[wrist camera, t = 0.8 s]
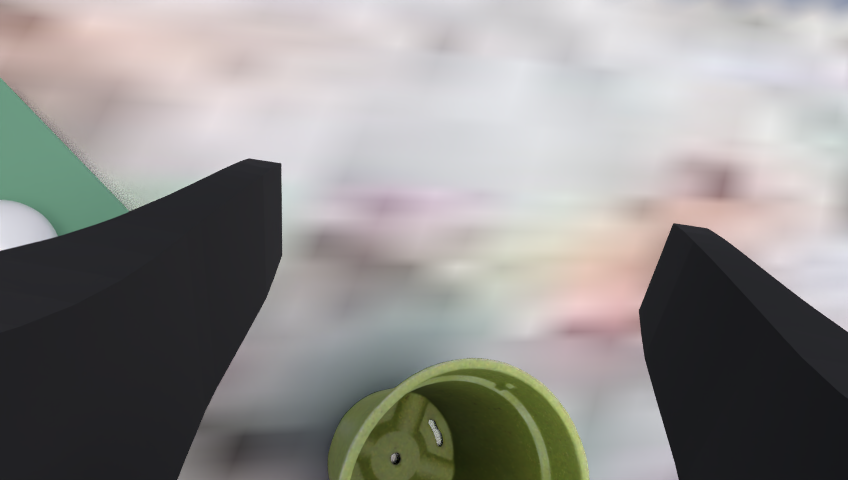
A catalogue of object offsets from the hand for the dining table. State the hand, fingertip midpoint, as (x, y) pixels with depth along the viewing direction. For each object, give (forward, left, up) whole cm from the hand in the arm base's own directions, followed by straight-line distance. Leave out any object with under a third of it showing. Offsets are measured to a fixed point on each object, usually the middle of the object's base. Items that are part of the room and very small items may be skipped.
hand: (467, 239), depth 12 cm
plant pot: (-2, -9, -18) cm, 20 cm away
